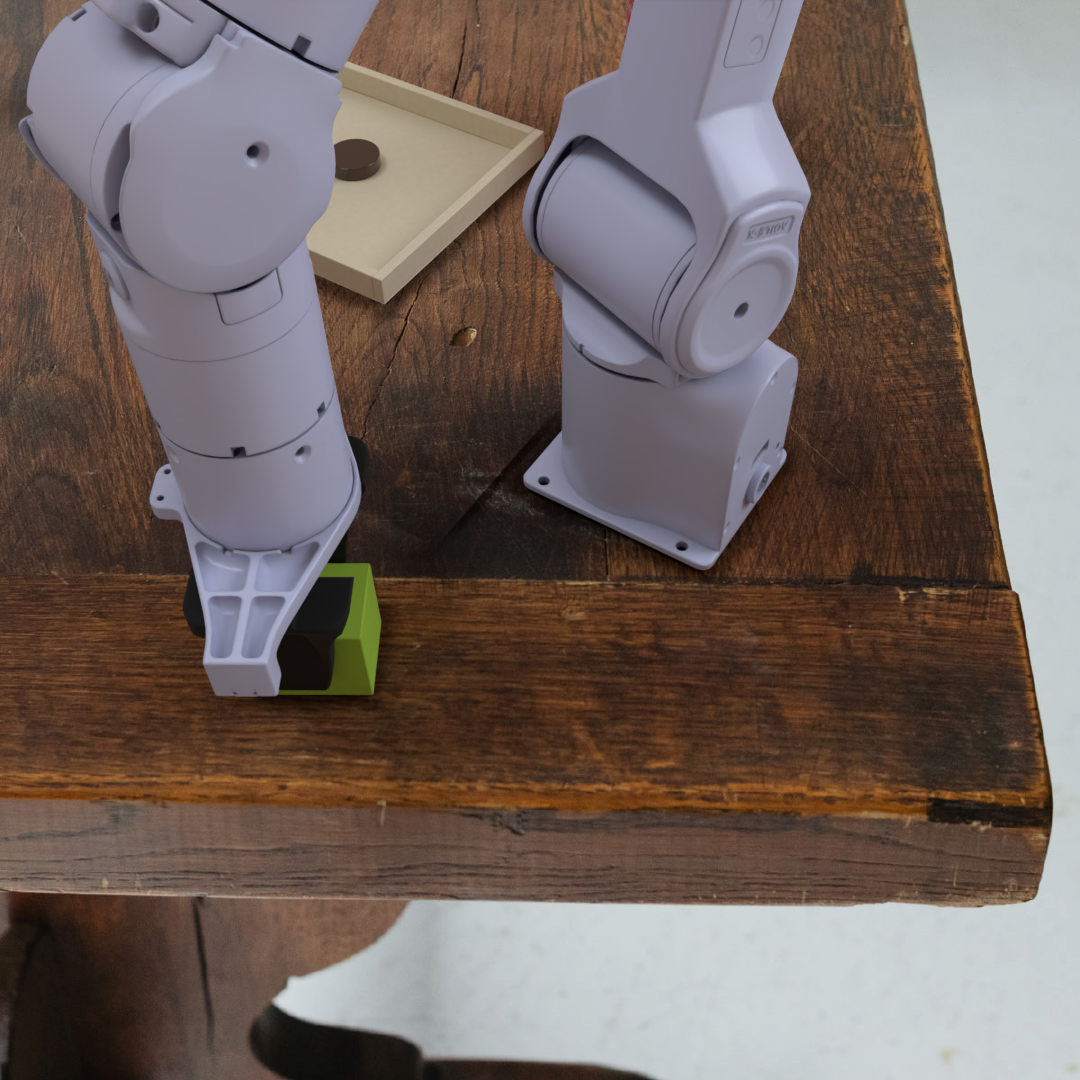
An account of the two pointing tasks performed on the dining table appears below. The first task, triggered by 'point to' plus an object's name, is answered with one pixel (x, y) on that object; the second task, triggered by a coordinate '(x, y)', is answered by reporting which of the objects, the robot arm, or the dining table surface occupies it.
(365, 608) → the sponge
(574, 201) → the robot arm
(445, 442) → the dining table surface
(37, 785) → the dining table surface
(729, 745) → the dining table surface
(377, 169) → the dark brown disc
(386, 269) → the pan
